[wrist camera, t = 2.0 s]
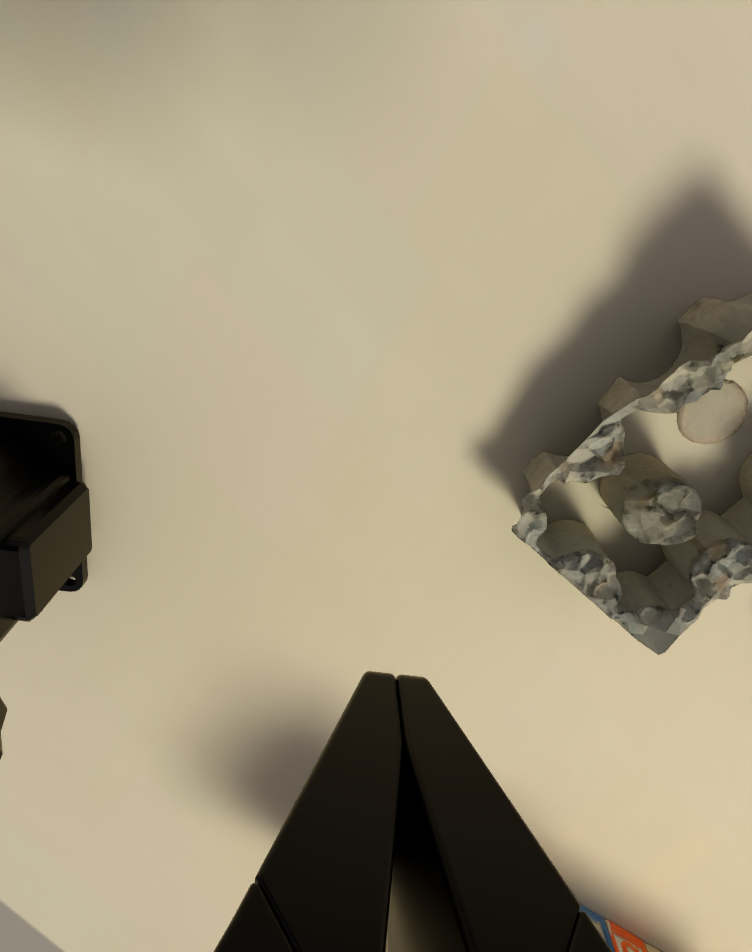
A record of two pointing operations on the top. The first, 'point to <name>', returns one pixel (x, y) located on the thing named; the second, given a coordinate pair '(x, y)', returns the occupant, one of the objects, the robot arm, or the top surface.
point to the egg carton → (658, 488)
